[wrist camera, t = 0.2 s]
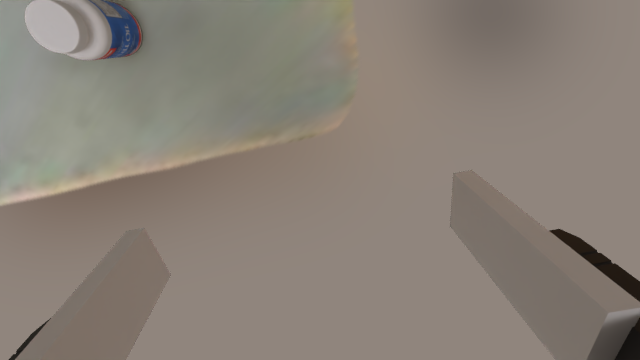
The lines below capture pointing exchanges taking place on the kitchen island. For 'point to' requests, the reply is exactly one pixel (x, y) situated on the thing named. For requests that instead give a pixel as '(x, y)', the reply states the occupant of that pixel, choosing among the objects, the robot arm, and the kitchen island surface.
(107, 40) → the pill bottle
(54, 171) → the kitchen island surface
